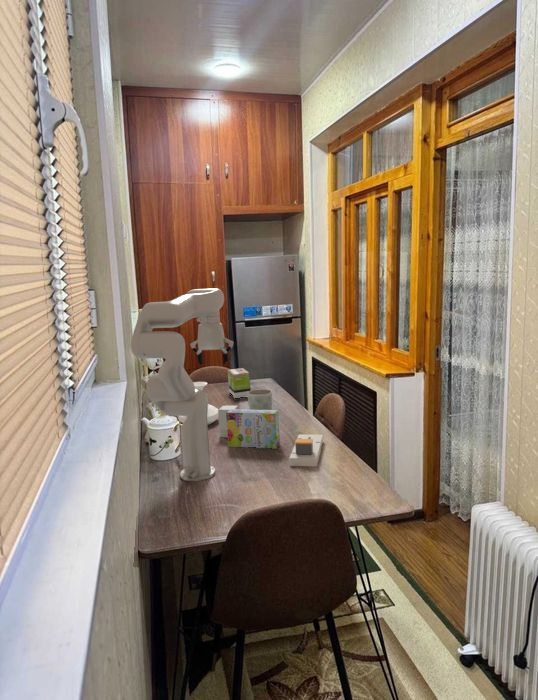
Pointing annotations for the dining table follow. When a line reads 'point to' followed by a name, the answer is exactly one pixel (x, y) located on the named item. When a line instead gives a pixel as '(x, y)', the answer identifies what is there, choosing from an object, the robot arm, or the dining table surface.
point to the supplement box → (224, 419)
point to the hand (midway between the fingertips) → (213, 363)
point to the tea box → (239, 382)
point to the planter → (260, 399)
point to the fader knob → (304, 446)
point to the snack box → (253, 428)
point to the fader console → (307, 458)
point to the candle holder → (212, 411)
